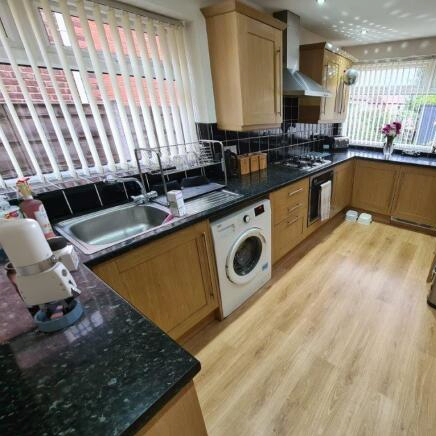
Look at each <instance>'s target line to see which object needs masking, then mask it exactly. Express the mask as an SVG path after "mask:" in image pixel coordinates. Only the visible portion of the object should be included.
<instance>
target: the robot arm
mask: <svg viewBox="0 0 436 436" xmlns="http://www.w3.org/2000/svg"><path fill="white" fill-rule="evenodd" d="M2 249H3V251H4V252H5V254H6V256H7V258H8V260H9V262H10V264H11V265H12V267H13V269H14V271H15V272H16V273H15V283H16V286H17V290H18V292H19V294H20V297H21V298H22V300H23V303H22V307H23V308H26V309H27V308H28V309H29V308H30V309H35V310H38V311H40V310H41V312H43V313H46V315H47V317H48V319H50V318H51V316H52V315H53V312H54V311H55V310H56V307H55V305H51V303H53V302H56V301H58V300H59V302H60V303H61V305H62V309H61V310H62V312H63V314H64V315H66V314H68V313H69V312H71V311H72V310H73V307H72V305H71V302H72V301H73V299H75V298H76V299H78V298H79V297H80V296H81V295H82V293H83V291H82V290H80V289H79V288H78V287H77V283H76V281H75V279H74V277H73V276H72V273H70V272H69V271H68V270H67V269H66V267H65V266H64V265H63V264H62V263H61V262H60V261H61V257H55V255H54V254H53V253H52V251H51V249H50V247H49V245H48V242H47V240H46V238H45V236H44V234H43V232H42V230H41V227H40V225H39V223H38V222H37V221H36V220H34V219H26V218H18V219H13V218H3V217H0V250H2ZM50 321H52V320H51V319H50Z"/></svg>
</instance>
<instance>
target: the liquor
mask: <svg viewBox="0 0 436 436" xmlns="http://www.w3.org/2000/svg"><path fill="white" fill-rule="evenodd" d="M16 186H17V188H18V189H19V191H20V192H21V195H22V198H23V201H22V202H20V204H19V205H18V207H19V208H20V211H21V212H22V214H23V216H24V219H34V220H36V221H37V222H38V223H39V225H40V227H41V230H42V232H43V234H44V236H45V238H46V240H47V239H49V238H52V237H57V235H56V234H55V233H54V231H53V228H52V225H51V223H50V221H49V217H48V215H47V211H46V209H45V207H44V204H43V201H41V200H39V199H34V198H33V196H32V194H31V192H30V190H29V188H28V185H27V182H20V183H16Z"/></svg>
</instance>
